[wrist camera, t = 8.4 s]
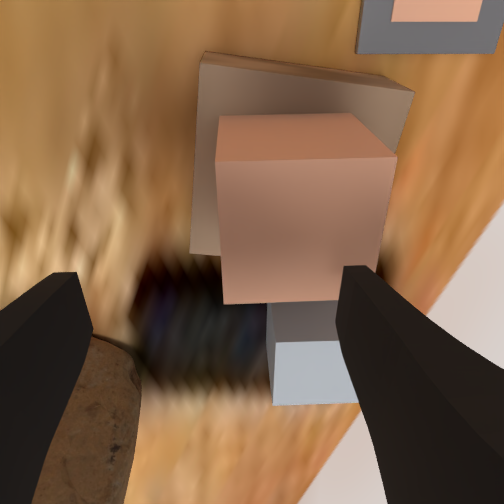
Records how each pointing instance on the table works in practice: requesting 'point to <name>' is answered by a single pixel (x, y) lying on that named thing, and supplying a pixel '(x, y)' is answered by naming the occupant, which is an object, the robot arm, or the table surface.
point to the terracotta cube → (298, 204)
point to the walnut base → (279, 102)
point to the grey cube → (306, 354)
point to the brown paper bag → (95, 433)
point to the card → (429, 26)
